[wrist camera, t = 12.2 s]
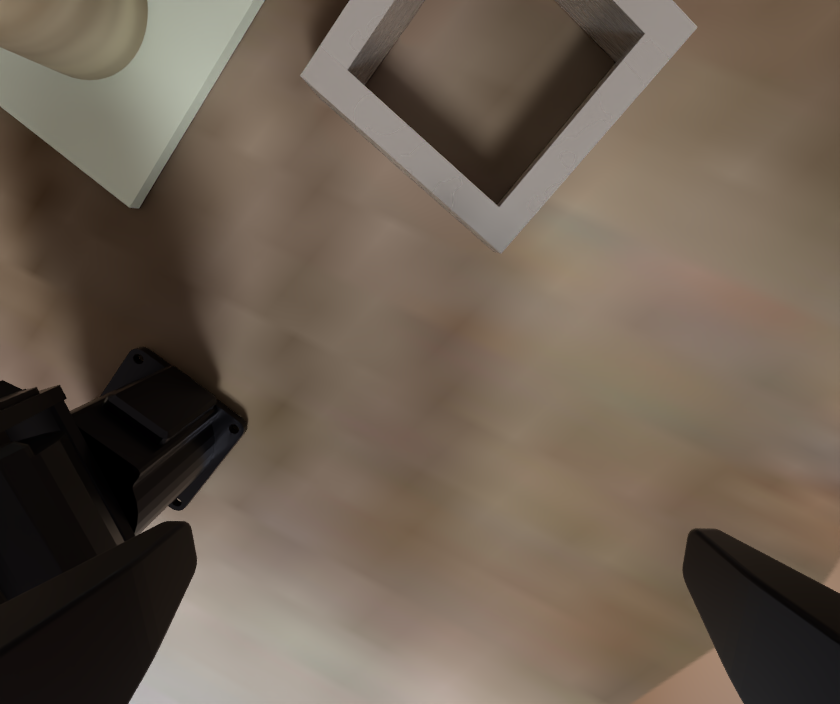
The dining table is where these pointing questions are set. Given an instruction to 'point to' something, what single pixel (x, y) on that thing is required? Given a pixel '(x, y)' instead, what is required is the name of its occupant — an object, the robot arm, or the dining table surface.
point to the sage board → (131, 94)
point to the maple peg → (75, 34)
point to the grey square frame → (499, 224)
